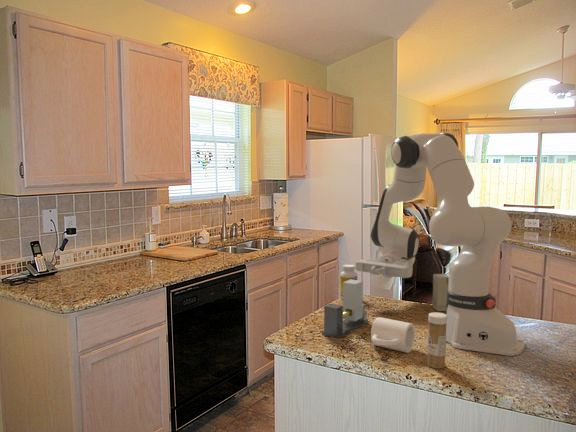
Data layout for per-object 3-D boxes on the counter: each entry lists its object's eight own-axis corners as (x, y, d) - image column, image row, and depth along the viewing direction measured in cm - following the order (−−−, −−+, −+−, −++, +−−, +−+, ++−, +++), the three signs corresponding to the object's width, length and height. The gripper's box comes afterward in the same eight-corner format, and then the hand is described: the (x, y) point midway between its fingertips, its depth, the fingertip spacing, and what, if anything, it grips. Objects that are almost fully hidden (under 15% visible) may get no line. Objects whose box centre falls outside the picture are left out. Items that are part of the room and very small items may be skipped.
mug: (382, 340, 141) (382, 314, 140) (415, 347, 135) (415, 320, 134) (363, 353, 131) (364, 324, 131) (398, 361, 126) (398, 332, 125)
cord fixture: (367, 321, 158) (368, 294, 157) (339, 338, 142) (339, 309, 142) (351, 318, 161) (351, 292, 161) (321, 334, 146) (322, 305, 145)
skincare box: (449, 311, 169) (450, 277, 168) (437, 311, 169) (438, 277, 168) (444, 306, 175) (444, 273, 174) (432, 306, 175) (432, 273, 174)
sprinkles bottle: (423, 363, 124) (424, 312, 123) (437, 360, 126) (439, 310, 124) (435, 370, 120) (436, 318, 118) (449, 367, 122) (451, 315, 120)
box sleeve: (362, 317, 156) (362, 281, 155) (355, 321, 152) (355, 284, 151) (350, 314, 159) (350, 279, 158) (342, 318, 155) (343, 282, 153)
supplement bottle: (356, 300, 183) (356, 267, 182) (339, 300, 184) (339, 267, 183) (357, 296, 189) (357, 264, 188) (340, 295, 191) (341, 263, 189)
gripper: (365, 253, 184) (347, 259, 173) (416, 260, 172) (401, 266, 161) (364, 269, 185) (347, 276, 174) (416, 277, 173) (401, 285, 162)
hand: (373, 272), depth 167 cm, fingers closed
